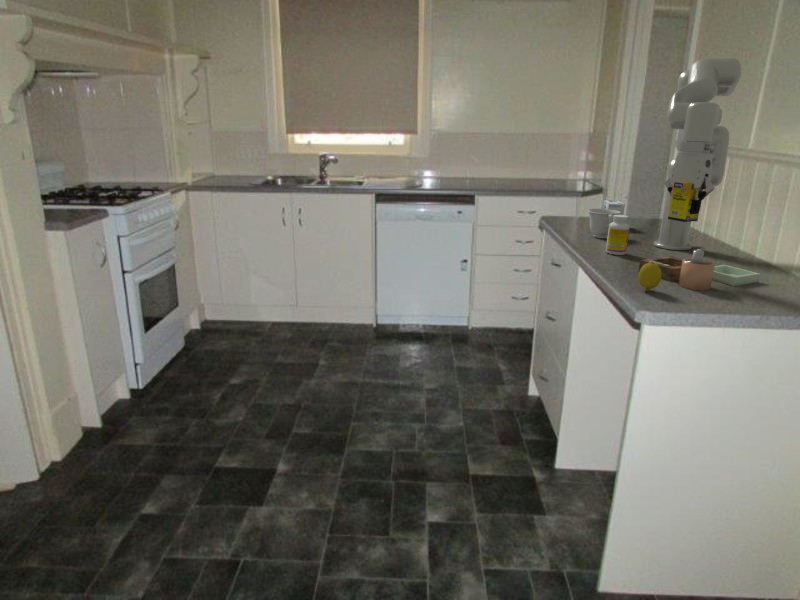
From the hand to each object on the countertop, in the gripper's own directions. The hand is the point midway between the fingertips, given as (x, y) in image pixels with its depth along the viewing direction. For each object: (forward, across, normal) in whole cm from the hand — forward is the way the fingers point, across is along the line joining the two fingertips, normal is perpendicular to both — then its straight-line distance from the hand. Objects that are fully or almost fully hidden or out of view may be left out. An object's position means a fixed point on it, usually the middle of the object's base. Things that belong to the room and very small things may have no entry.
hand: (684, 211), depth 166 cm
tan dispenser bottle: (+19, -13, +8) cm, 24 cm away
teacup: (+18, +47, -19) cm, 54 cm away
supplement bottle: (+18, +25, -3) cm, 31 cm away
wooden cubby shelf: (+18, -1, +2) cm, 19 cm away
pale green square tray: (+18, -12, -8) cm, 23 cm away
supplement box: (+3, 0, 0) cm, 3 cm away
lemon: (+19, -10, +24) cm, 32 cm away
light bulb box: (+17, +62, -39) cm, 75 cm away
